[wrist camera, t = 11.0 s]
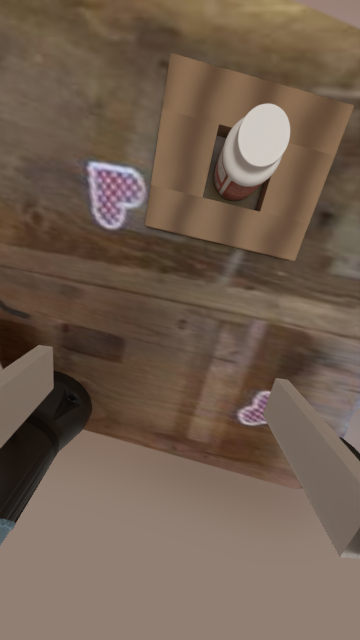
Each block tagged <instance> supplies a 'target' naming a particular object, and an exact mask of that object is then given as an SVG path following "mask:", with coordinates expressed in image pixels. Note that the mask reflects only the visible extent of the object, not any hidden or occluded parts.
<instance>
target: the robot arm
mask: <svg viewBox="0 0 360 640" xmlns="http://www.w3.org/2000/svg"><path fill="white" fill-rule="evenodd" d="M90 415H91V401H90V398H89V396H88V394H87V392H86V391H85V389H84V388H83V387H82V386H81V385H80V384H79V383H78V382H77V381H75V380H74V379H72V378H70V377H69V376H67V375H64V374H62V373H58V372H54V371H53V347H50V346H43V345H38V346H37V347H35V348H34V349H32V350H31V351H29V352H28V353H26V354H25V355H23V356H22V357H21V358H19V359H18V360H16V361H15V362H13V363H12V364H10V365H9V366H7V367H6V368H4V369H3V370H2V371H0V545H1V543H2V542H3V541H4V539H5V538H6V536H7V535H8V533H9V532H10V531H11V530H12V529H13V528H14V526H15V523H16V522H17V520H18V518H19V517H20V515H21V513H22V512H23V510H24V508H25V507H26V505H27V503H28V502H29V500H30V498H31V497H32V495H33V493H34V492H35V490H36V488H37V487H38V485H39V483H40V481H41V480H42V478H43V476H44V475H45V473H46V471H47V470H48V468H49V466H50V465H51V463H52V461H53V460H54V458H55V456H56V455H57V453H58V452H59V451H60V450H61V449H62V448H63V447H64V446H65V445H67V444H68V443H69V442H70V441H71V440H72V439H73V438H74V437H75V436H76V435H77V434H78V433H80V432H81V431H82V429H83V428H84V426H85V425H86V423H87V421H88V419H89V417H90ZM263 416H264V418H265V420H266V422H267V423H268V425H269V427H270V429H271V431H272V433H273V434H274V436H275V438H276V440H277V442H278V444H279V446H280V447H281V449H282V451H283V453H284V455H285V457H286V458H287V460H288V462H289V464H290V466H291V468H292V470H293V471H294V473H295V475H296V477H297V479H298V481H299V482H300V484H301V486H302V488H303V490H304V492H305V493H306V495H307V497H308V499H309V501H310V503H311V505H312V506H313V508H314V510H315V512H316V514H317V516H318V517H319V519H320V521H321V523H322V525H323V527H324V528H325V530H326V532H327V534H328V536H329V538H330V540H331V541H332V543H333V545H334V547H335V549H336V550H337V552H338V554H339V556H340V557H347V558H360V453H359V452H358V451H357V450H356V449H355V448H354V447H352V446H351V445H350V444H349V443H348V442H346V441H345V440H344V439H343V438H341V437H338V436H337V435H336V434H335V433H334V431H333V430H332V429H331V428H330V427H329V426H328V425H327V424H326V422H325V421H324V420H323V419H322V418H321V417H320V416H319V415H318V413H317V412H316V411H315V410H314V409H313V408H312V407H311V406H310V404H309V403H308V402H307V401H306V400H305V399H304V398H303V396H302V395H301V394H300V393H299V392H298V391H297V390H296V389H295V387H294V386H293V385H292V384H291V383H290V382H289V381H288V380H285V379H278V378H276V379H275V382H274V385H273V388H272V390H271V393H270V396H269V399H268V401H267V404H266V407H265V410H264V413H263Z"/></svg>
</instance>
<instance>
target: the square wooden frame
mask: <svg viewBox="0 0 360 640" xmlns="http://www.w3.org/2000/svg"><path fill="white" fill-rule="evenodd" d="M267 103H268V104H274V105H276V106H278V107H280V108H281V109H282V110H283V111H284V112H285V113H286V115H287V117H288V120H289V123H290V139H289V143H288V146H287V148H286V150H285V152H284V153H283V155H282V158H281V161H280V163H279V165H278V167H277V169H276V170H275V172H274V173H273V174H272V175H271V176H270V178H269V179H267V180H266V181H265V182H264V183H263V187H262V190H261V193H260V197H259V200H258V203H257V207H256V210H251V209H247V208H243V207H239V206H235V205H231V204H227V203H223V202H219V201H215V200H211V199H207V198H203V194H204V189H205V185H206V180H207V176H208V171H209V167H210V163H211V158H212V154H213V149H214V145H215V140H216V136H217V135H219V136H222V137H226V138H227V136H228V134H229V132H230V130H231V129H232V128H233V126H234V125H235V124H236V123H237V122H238V121H239V120H241V119H242V118H244V117H245V116H246V115H247V114H248V113H249V112H250V111H251V110H252V109H253V108H255V107H256V106H258V105H261V104H267ZM353 107H354V105H351V104H347V103H344V102H340V101H337V100H333V99H330V98H326V97H323V96H319V95H316V94H312V93H309V92H305V91H302V90H298V89H295V88H291V87H288V86H284V85H281V84H277V83H274V82H270V81H267V80H263V79H260V78H256V77H253V76H249V75H246V74H242V73H239V72H235V71H232V70H229V69H225V68H222V67H218V66H215V65H211V64H208V63H204V62H201V61H197V60H194V59H190V58H187V57H183V56H180V55H176V54H173V53H171V54H170V61H169V68H168V74H167V81H166V88H165V94H164V101H163V107H162V114H161V121H160V127H159V134H158V140H157V147H156V154H155V160H154V167H153V174H152V180H151V187H150V193H149V200H148V207H147V213H146V220H145V226H146V227H149V228H153V229H157V230H162V231H166V232H170V233H174V234H179V235H183V236H187V237H191V238H196V239H200V240H204V241H208V242H212V243H217V244H221V245H225V246H229V247H234V248H238V249H242V250H246V251H251V252H255V253H259V254H263V255H268V256H272V257H276V258H280V259H284V260H291V261H295V259H296V256H297V253H298V251H299V248H300V246H301V243H302V240H303V238H304V235H305V233H306V230H307V227H308V225H309V222H310V219H311V217H312V214H313V212H314V209H315V206H316V204H317V201H318V199H319V196H320V193H321V191H322V188H323V186H324V183H325V180H326V178H327V175H328V172H329V170H330V167H331V165H332V162H333V159H334V157H335V154H336V152H337V149H338V146H339V144H340V141H341V139H342V136H343V133H344V131H345V128H346V125H347V123H348V120H349V118H350V115H351V112H352V110H353Z"/></svg>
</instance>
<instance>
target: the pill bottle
mask: <svg viewBox="0 0 360 640" xmlns="http://www.w3.org/2000/svg"><path fill="white" fill-rule="evenodd" d="M289 139H290V123H289V120H288V117H287V115H286V113H285V112H284V111H283V110H282V109H281V108H280V107H278V106H276V105H274V104H268V103H267V104H261V105H258V106H256V107H255V108H253V109H252V110H251V111H250V112H249V113H248V114H247V115H246V116H245V117H244V118H242V119H241V120H239V121H238V122H237V123H236V124H235V125H234V126H233V128H232V129H231V130H230V132H229V134H228V136H227V138H226V140H225V143H224V146H223V149H222V151H221V154H220V157H219V159H218V162H217V164H216V168H215V171H214V183H215V187H216V189H217V191H218V192H219V194H220V195H221V196H222V197H224V198H225V199H228V200H231V201H238V200H242V199H244V198H246V197H247V196H249V195H250V194H251V193H252V192H253V191H255V190H256V189H257V188H258V187H259V186H260V185H262V184H263V183H264V182H265V181H266V180H267V179H269V178H270V176H271V175H272V174H273V173H274V172H275V170H276V169H277V167H278V165H279V163H280V161H281V158H282V155H283V153H284V152H285V150H286V148H287V146H288V143H289Z"/></svg>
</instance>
